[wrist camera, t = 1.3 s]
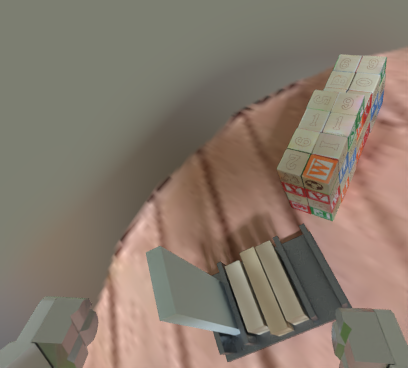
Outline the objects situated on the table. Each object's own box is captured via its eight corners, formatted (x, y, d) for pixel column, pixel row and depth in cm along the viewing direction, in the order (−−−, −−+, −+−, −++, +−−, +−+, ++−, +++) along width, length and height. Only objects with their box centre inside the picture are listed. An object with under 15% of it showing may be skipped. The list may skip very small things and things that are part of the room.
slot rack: (310, 233, 44) (305, 218, 40) (354, 312, 38) (354, 305, 33) (205, 281, 47) (188, 272, 42) (230, 361, 41) (213, 362, 36)
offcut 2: (262, 256, 45) (253, 246, 41) (294, 330, 39) (287, 327, 35) (249, 262, 45) (239, 253, 41) (279, 336, 39) (270, 333, 35)
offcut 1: (250, 269, 44) (238, 260, 40) (273, 328, 40) (263, 325, 36) (237, 275, 45) (224, 266, 40) (259, 334, 40) (247, 331, 36)
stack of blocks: (341, 96, 53) (339, 35, 43) (383, 102, 49) (391, 37, 39) (291, 208, 47) (274, 168, 37) (333, 223, 44) (328, 183, 34)
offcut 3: (278, 253, 44) (269, 240, 39) (309, 319, 39) (303, 313, 34) (265, 259, 44) (254, 246, 39) (294, 325, 39) (286, 320, 34)
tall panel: (230, 286, 44) (160, 245, 28) (245, 331, 41) (176, 313, 25) (220, 290, 45) (145, 252, 28) (235, 335, 41) (159, 320, 25)
